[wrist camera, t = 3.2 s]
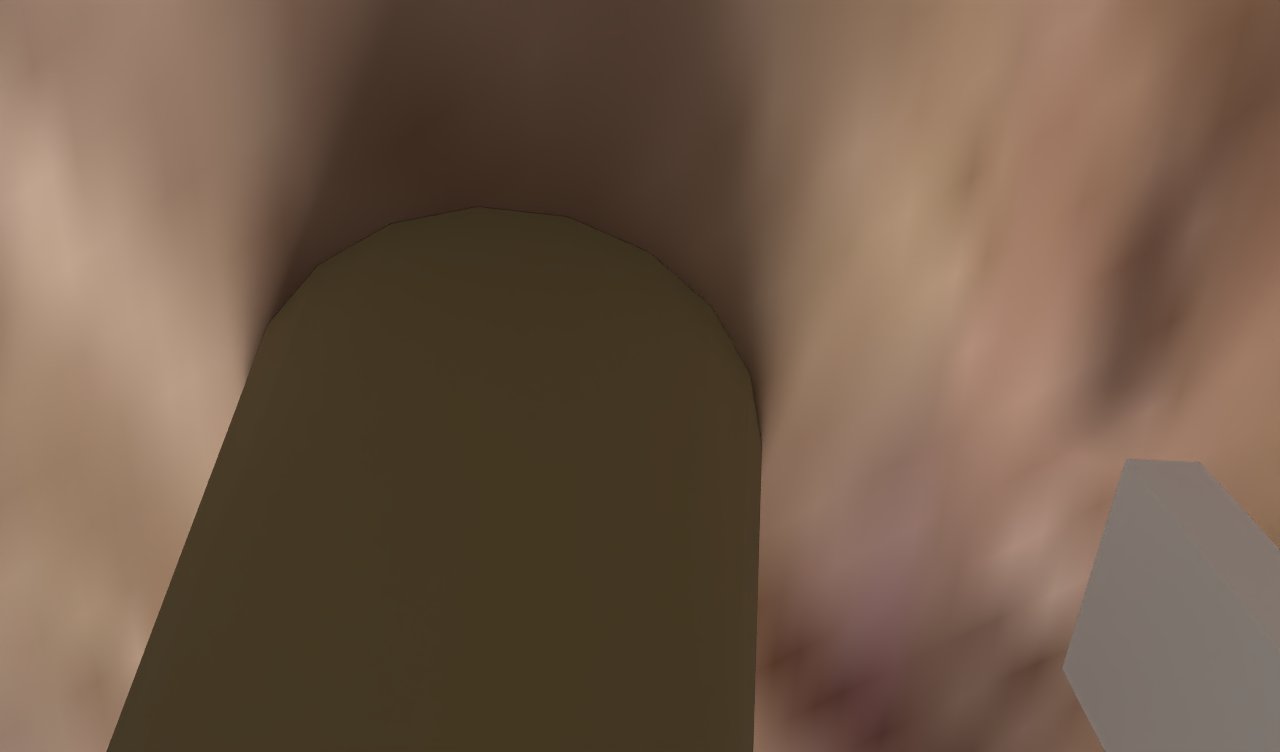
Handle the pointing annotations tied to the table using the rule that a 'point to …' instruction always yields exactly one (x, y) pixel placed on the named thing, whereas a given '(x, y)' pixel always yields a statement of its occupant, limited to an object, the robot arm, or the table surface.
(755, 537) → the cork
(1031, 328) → the table surface
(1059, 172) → the table surface
